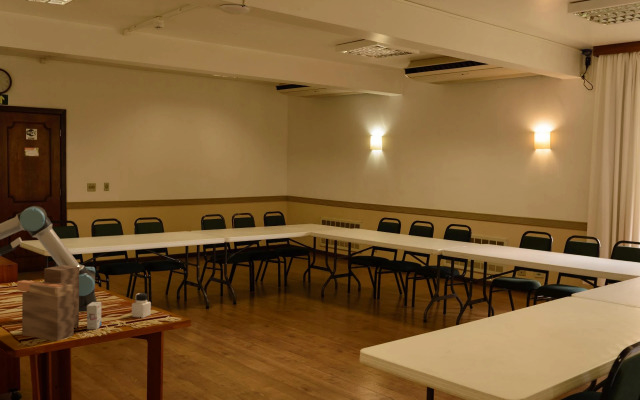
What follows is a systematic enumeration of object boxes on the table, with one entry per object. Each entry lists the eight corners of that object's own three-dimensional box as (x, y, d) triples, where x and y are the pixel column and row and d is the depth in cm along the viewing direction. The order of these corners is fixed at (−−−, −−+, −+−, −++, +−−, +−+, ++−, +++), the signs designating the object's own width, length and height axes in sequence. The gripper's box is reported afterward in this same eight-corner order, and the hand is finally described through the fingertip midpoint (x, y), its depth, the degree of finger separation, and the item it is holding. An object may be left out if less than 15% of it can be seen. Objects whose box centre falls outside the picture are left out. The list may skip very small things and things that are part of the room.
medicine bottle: (150, 315, 330) (151, 293, 329) (142, 318, 323) (143, 295, 322) (139, 313, 332) (140, 291, 331) (131, 316, 325) (131, 294, 325)
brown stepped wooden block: (58, 324, 306) (58, 264, 304) (91, 329, 298) (92, 268, 296) (22, 335, 285) (22, 271, 283) (57, 340, 278) (57, 275, 276)
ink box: (91, 324, 307) (91, 301, 306) (101, 324, 307) (102, 301, 306) (86, 329, 298) (86, 305, 297) (96, 329, 298) (97, 305, 298)
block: (24, 288, 293) (24, 280, 293) (63, 293, 284) (63, 285, 284) (17, 289, 289) (17, 281, 289) (56, 295, 281) (57, 286, 280)
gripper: (5, 263, 316) (32, 245, 309) (-39, 270, 293) (-10, 251, 286) (-1, 250, 317) (27, 232, 310) (-45, 256, 294) (-16, 236, 287)
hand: (9, 241), depth 298 cm, fingers open, 13 cm apart
